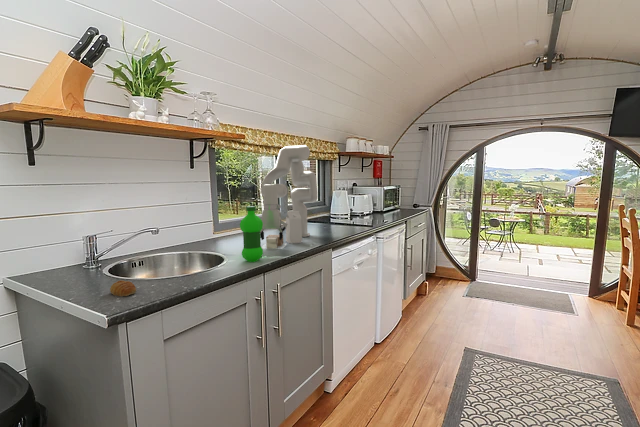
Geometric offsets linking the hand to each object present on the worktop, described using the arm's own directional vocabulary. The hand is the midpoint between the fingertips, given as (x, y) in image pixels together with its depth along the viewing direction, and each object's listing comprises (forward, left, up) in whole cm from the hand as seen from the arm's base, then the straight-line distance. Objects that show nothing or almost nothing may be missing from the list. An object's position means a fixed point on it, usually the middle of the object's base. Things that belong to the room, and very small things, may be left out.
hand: (271, 239), depth 181 cm
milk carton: (-17, +10, -6) cm, 20 cm away
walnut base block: (-8, 0, -5) cm, 10 cm away
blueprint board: (-5, 0, -5) cm, 7 cm away
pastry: (+70, -36, -6) cm, 79 cm away
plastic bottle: (+25, -4, -6) cm, 26 cm away
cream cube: (0, 0, -4) cm, 4 cm away
